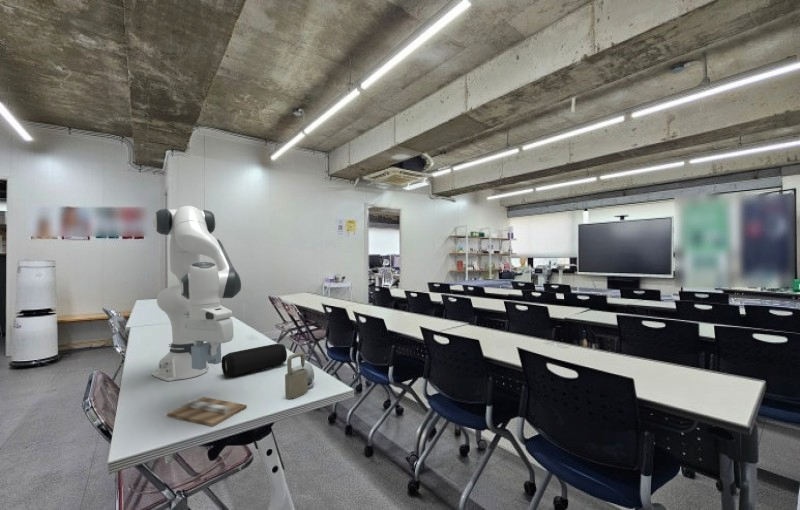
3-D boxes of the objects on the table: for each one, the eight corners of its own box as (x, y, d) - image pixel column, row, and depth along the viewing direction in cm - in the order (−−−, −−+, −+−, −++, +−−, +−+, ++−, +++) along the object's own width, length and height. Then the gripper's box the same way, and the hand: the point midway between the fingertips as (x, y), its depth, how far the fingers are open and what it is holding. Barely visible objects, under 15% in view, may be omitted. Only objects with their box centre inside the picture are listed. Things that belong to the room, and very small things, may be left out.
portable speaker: (279, 361, 165) (278, 340, 165) (288, 366, 158) (287, 344, 157) (221, 375, 148) (220, 351, 148) (227, 381, 141) (227, 356, 140)
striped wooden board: (167, 416, 110) (166, 408, 110) (203, 399, 122) (203, 392, 122) (212, 426, 103) (212, 418, 103) (246, 408, 115) (246, 400, 115)
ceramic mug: (286, 384, 135) (286, 365, 135) (306, 379, 140) (305, 360, 140) (299, 392, 127) (298, 372, 127) (319, 386, 133) (318, 366, 132)
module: (191, 368, 110) (191, 346, 110) (212, 361, 117) (212, 340, 117) (200, 369, 108) (200, 347, 108) (221, 362, 115) (220, 341, 115)
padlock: (309, 391, 127) (308, 351, 127) (291, 400, 120) (290, 357, 120) (302, 389, 129) (301, 349, 129) (284, 397, 123) (283, 355, 123)
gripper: (173, 312, 113) (175, 354, 113) (219, 315, 106) (221, 360, 106) (191, 309, 119) (192, 349, 119) (236, 311, 112) (237, 354, 112)
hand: (206, 354), depth 112 cm, fingers closed on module, 4 cm apart
